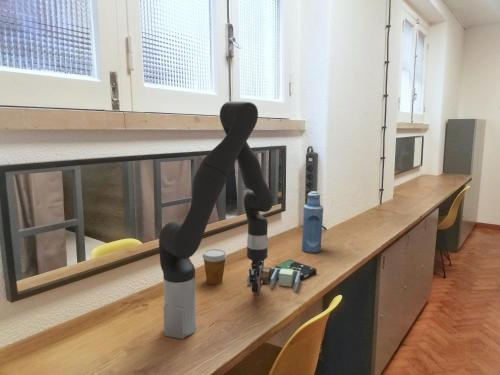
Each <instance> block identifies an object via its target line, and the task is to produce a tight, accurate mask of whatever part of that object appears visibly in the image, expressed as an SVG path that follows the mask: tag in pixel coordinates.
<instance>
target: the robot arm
mask: <svg viewBox="0 0 500 375" xmlns="http://www.w3.org/2000/svg"><path fill="white" fill-rule="evenodd" d="M257 107H258V106H256V104H255V103H253V102H250V101H246V100H245V101H244V100H243V101H242V100H239V101H238V100H237V101H235V100H233V101H226V102H224V103H223V105H222V106H221V107H220V109H219V119H220V123H221V126H222V129H223V131H224V133H225V137H224V138H223V139H222V140H221V141H220V143H219V142H218V144H217V145H216V146H214V147H213V149H212V150H210V151H209V152H208V153H207V155H206V156H205V157H204V158H203V159H202V161H201V162H200V165H199V166H198V168H197V170H196V172H195V175H194V176H193V180H192V186H191V203H190V207H189V210H188V212H187V214H186V216H185V218H184V220H183V222H178V221H170V222H167V223H166V224H165V225H164V226H163V227H162V228H161V230H160V233H159V237H158V251H159V262H160V263H159V264H160V267H161V271H162V274H163V276H162V277H163V304H164V305H163V333H164V334H163V335H164V336H165V337H170V338H176V339H180V340H184V339H185V338H186V337H188V336H190V335H193V333H194V332H195V331H196V330H197V329H196V326H197V325H196V322H197V321H196V315H197V314H196V313H197V312H196V267H195V265H194V264H193V262H192V261H191V259H190V258H191V257H192V256H193V255H194V254H195V253H196V252H197V251H198V249H199V247H200V245H201V243H202V240H203V237H204V234H205V232H206V229H207V226H208V223H209V220H210V217H211V215H212V212H213V211H214V208H215V205H216V203H217V201H218V199H219V197H220V195H221V193H222V190H223V189H224V187H225V184H226V183H227V181H228V178H229V175H230V174H231V171H232V169H233V168H234V165H235V164H236V162H237V163H238V167H239V171H240V175H241V179H242V183H243V185H244V187H245V188H246V189H247V190H248V191H247V192H246V193H245V195H244V197H243V207H244V211H245V215H246V219H247V222H248V223H247V237H246V238H247V239H246V258H247V259H248V260H250V261H251V263H250V268H249V269H248V274H249V277H250V283H251V292H252V293H253V292H254V293H257V292H258V279H259V277H260V286H261V287H262V285H261V277H262V273H263V267H264V266H265V264H264V263H265V260H266V259H267V258H268V252H269V250H268V247H269V238H268V227H269V225H268V223H269V222H268V219H267V218H266V217H265V216H263V215H261V213H268V212H269V211H270V210H271V209H272V208H273V205H274V197H273V195H272V192H271V190H270V188H269V186H268V184H267V183H266V181H265V179H264V175H263V172H262V166H261V163H260V161H259V159H258V157H257V155H256V154H255V152H254V150H252V148H251V146H250V145H249V143H248V139H249V138H250V136H251V135H252V133H253V131H254V129H255V127H256V125H257V122H258V118H259V110H258V108H257ZM260 212H261V213H260ZM257 273H258V274H257ZM254 279H255V280H254Z"/></svg>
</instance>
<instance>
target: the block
mask: <svg viewBox="0 0 500 375" xmlns="http://www.w3.org/2000/svg"><path fill="white" fill-rule="evenodd" d="M293 272H294V270H290V269H282V268H281V270H280V272H279V278H278V286H282V287H293V283H294V280H293Z"/></svg>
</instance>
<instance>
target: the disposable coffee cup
mask: <svg viewBox="0 0 500 375" xmlns="http://www.w3.org/2000/svg"><path fill="white" fill-rule="evenodd" d="M227 257H228V256H227V254H226V251H225V250H223V249H221V248H210V249H206V250H204V251H203V254H202V260H203V263H204V270H205V271H204V272H205V277H206V283H207V284H210V285H219V284H222V283H223V278H224V271H225V265H226V264H225V263H226V259H227Z"/></svg>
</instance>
